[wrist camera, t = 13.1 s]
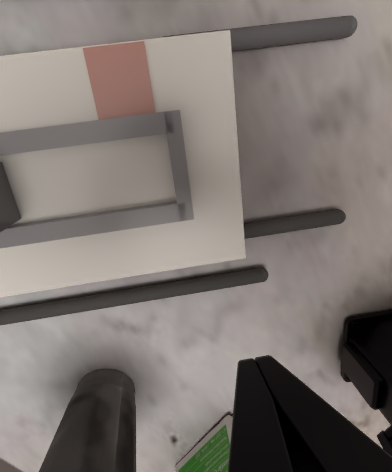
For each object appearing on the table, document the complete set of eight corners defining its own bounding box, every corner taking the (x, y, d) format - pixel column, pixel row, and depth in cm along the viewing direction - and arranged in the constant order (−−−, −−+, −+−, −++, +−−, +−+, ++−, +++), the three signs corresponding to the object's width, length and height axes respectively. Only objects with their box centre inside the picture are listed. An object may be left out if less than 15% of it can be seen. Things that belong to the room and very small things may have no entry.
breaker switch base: (220, 43, 16) (233, 25, 13) (236, 243, 21) (248, 263, 18) (-143, 85, 15) (-217, 75, 12) (-47, 287, 20) (-85, 316, 17)
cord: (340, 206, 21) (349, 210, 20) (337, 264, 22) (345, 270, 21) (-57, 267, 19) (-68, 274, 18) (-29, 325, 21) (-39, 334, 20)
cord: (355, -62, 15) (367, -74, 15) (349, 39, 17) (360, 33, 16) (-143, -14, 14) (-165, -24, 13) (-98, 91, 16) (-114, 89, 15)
